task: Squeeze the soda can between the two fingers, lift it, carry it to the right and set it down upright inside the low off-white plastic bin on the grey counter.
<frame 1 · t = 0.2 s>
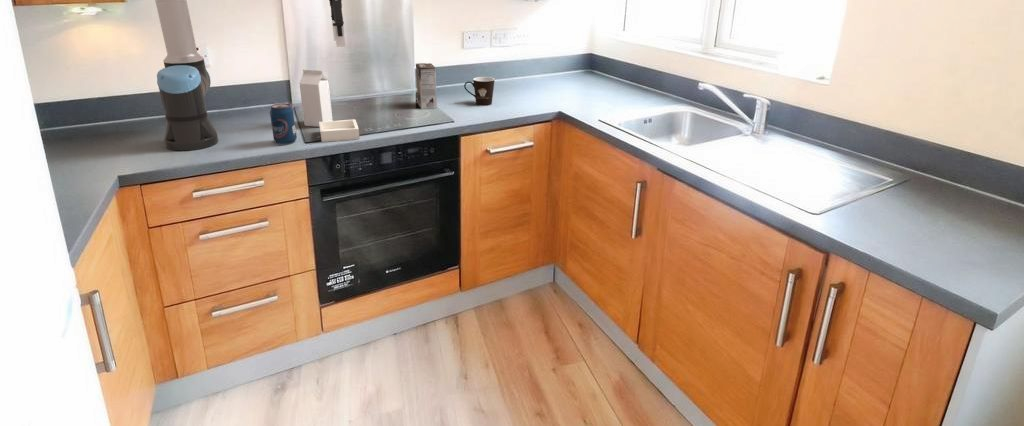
hand: (339, 43, 206), 28 cm above the countertop, tool pointing down, fingers open, 13 cm apart
coffee box: (427, 106, 240), on the countertop
coffee mug: (480, 103, 246), on the countertop
milk carton: (319, 124, 214), on the countertop
soda can: (285, 142, 194), on the countertop
bin: (339, 135, 202), on the countertop
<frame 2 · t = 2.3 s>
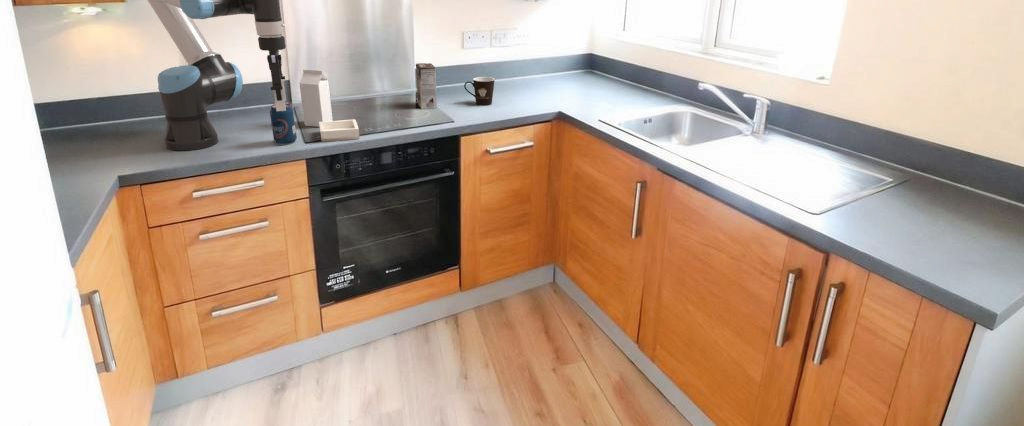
hand: (281, 105, 189), 12 cm above the countertop, tool pointing down, fingers open, 13 cm apart
nothing on the countertop moved.
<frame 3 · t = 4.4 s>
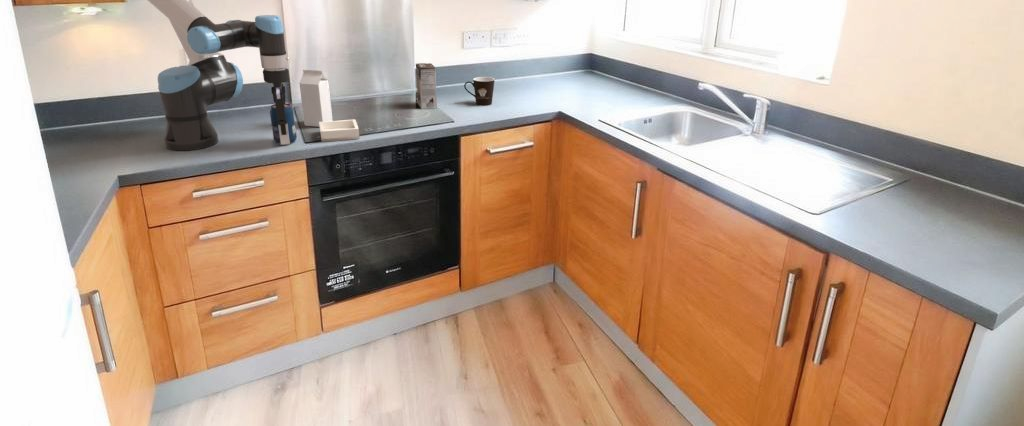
hand: (285, 140, 194), 1 cm above the countertop, tool pointing down, fingers closed on soda can, 7 cm apart
soda can: (285, 142, 194), on the countertop, touching gripper
everything else where it was.
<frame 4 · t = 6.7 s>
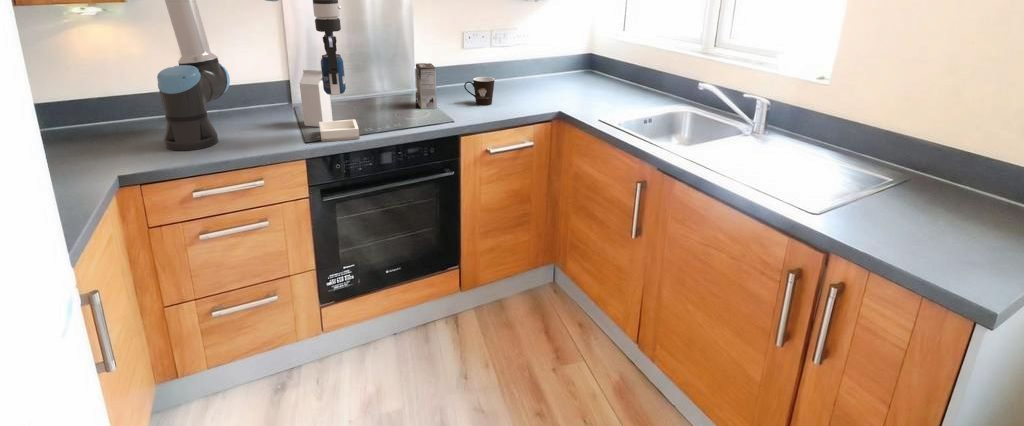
hand: (334, 91, 196), 15 cm above the countertop, tool pointing down, fingers closed on soda can, 7 cm apart
soda can: (335, 93, 196), point 14 cm above the countertop, touching gripper
everything else where it was.
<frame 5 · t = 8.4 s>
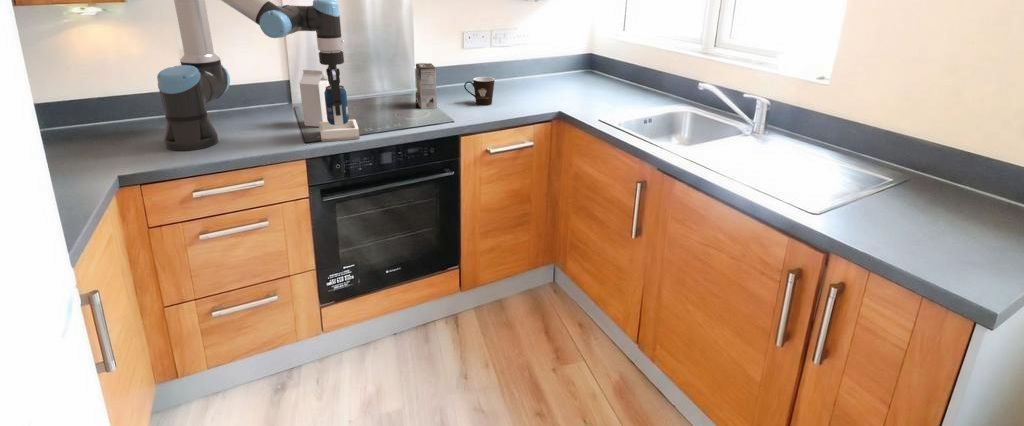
hand: (338, 121, 200), 5 cm above the countertop, tool pointing down, fingers closed on soda can, 7 cm apart
soda can: (338, 123, 200), point 4 cm above the countertop, touching gripper
everything else where it was.
when the fingers open (4 cm above the countertop, at t = 9.4 s): soda can drops 2 cm, resting on bin.
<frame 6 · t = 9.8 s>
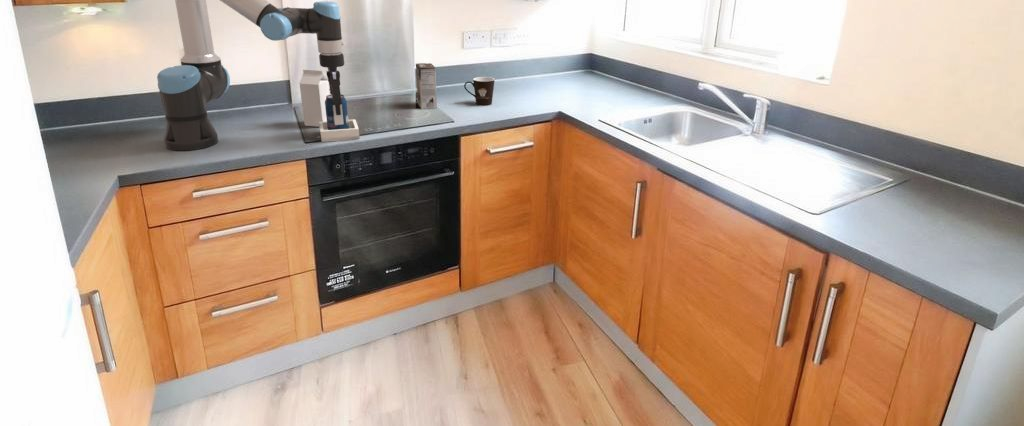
hand: (337, 119, 200), 6 cm above the countertop, tool pointing down, fingers open, 13 cm apart
soda can: (338, 132, 203), point 1 cm above the countertop, touching bin
everything else where it was.
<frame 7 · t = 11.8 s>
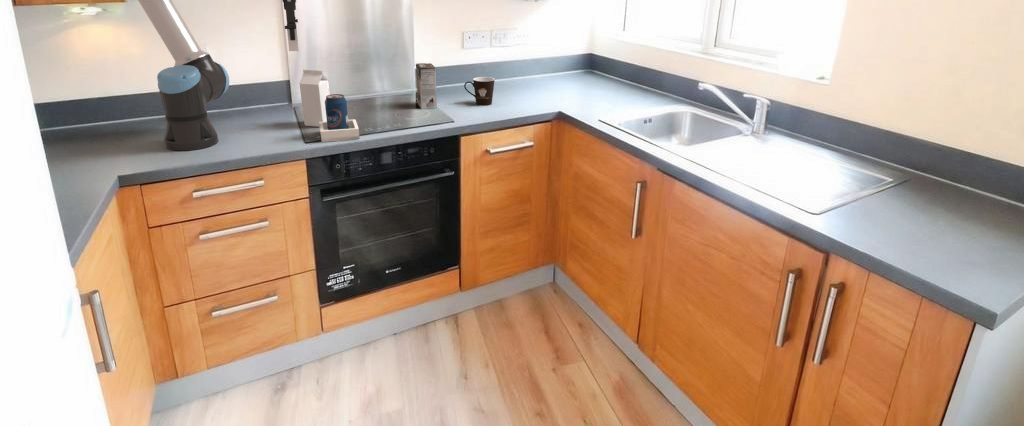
hand: (293, 47, 191), 29 cm above the countertop, tool pointing down, fingers open, 13 cm apart
nothing on the countertop moved.
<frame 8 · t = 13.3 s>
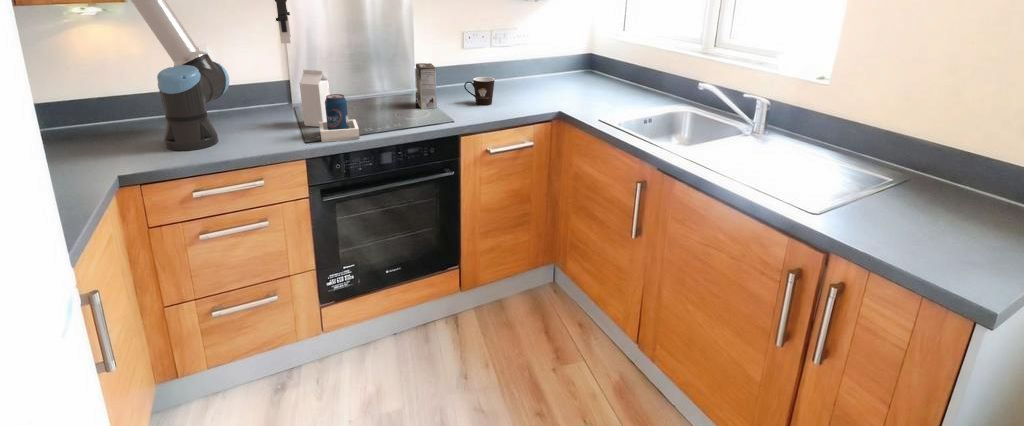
hand: (286, 40, 190), 31 cm above the countertop, tool pointing down, fingers open, 13 cm apart
nothing on the countertop moved.
at the end: soda can inside the target area on the bin (1.3 cm from its centre), point 0.8 cm above the bin's base; soda can tilted 0°; the gripper is holding nothing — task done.
